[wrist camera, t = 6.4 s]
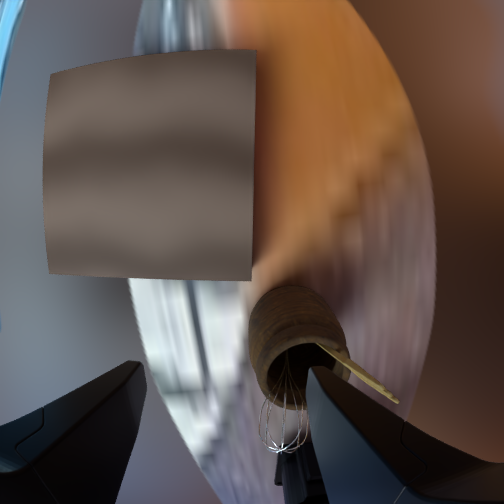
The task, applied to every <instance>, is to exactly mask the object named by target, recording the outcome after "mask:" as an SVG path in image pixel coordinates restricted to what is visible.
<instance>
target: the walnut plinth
mask: <svg viewBox="0 0 504 504" xmlns="http://www.w3.org/2000/svg"><path fill="white" fill-rule="evenodd" d="M255 96H256V50H198V51H182V52H170V53H159V54H150V55H142V56H135V57H128V58H122V59H116V60H110V61H105V62H100V63H94V64H90V65H86V66H81V67H76V68H72V69H68V70H64V71H60V72H57V73H53V74H51V76H50V84H49V91H48V97H47V107H46V116H45V129H44V146H43V209H44V227H45V239H46V250H47V259H48V267H49V274H59V275H77V276H78V275H79V276H97V277H120V278H144V279H173V280H212V281H251V278H252V233H253V187H254V141H255Z"/></svg>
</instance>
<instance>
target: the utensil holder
mask: <svg viewBox="0 0 504 504" xmlns="http://www.w3.org/2000/svg"><path fill="white" fill-rule="evenodd" d="M248 333H249V354H250V360H251V364H252V367H253V369H254V371H255V373H256V377H257V381H258V384H259V386H260V388H261V391H262V392H263V394H264V395H265V397H266V399H268V405H269V401H271V402H272V405H273V404H275V405H277V406H279V407H282V408H285V416H286V409H289V410H297V414H298V410H302V422H303V410H306V411H307V410H308V408H307V401H306V386H307V379H308V373H309V369H310V367H315V366H324V367H326V368H328V369H329V370H330V371H332V372H333V373H335V374H336V375H338V376H339V377H341V378H342V379H343V380H345V381H346V382H348V380H349V377H350V373H351V371H352V372H353V373H355V374H356V375H357V376H358V377H359V378H360V379H362V380H363V381H364V382H365V383H367V384H368V385H370V386H371V387H373V388H374V389H376V390H377V391H379V392H380V393H382V394H383V395H385V396H386V397H387V398H389V399H390V400H392V401H393V402H395V403H396V404H398V403H399V402H400V401H399V400H398V399H397V398H396V397H394V396H393V394H392V393H391V392H390V391H388V390H387V389H386V388H385V386H384V385H382V384H381V383H380V382H379V381H377V380H376V379H375V378H374V377H372V376H371V375H370V374H368V373H367V372H366V371H365V370H363V369H362V368H361V367H360V366H358V365H357V364H356V363H355V362H353V361H352V360H350V355H349V351H348V348H347V346H346V339H345V335H344V332H343V329H342V327H341V325H340V323H339V321H338V320H337V318H336V317H335V315H334V313H333V312H332V310H331V309H330V307H329V306H328V304H327V303H326V302H325V301H324V299H323V298H322V297H321V296H319V295H318V294H317V293H315V292H314V291H312V290H310V289H308V288H305V287H301V286H284V287H280V288H277V289H274V290H272V291H270V292H269V293H267V294H266V295H265V296H263V297H262V298H261V299H260V300H259V301H258V303H257V304H256V305H255V307H254V309H253V311H252V313H251V316H250V320H249V331H248ZM265 401H266V400H265ZM265 401H264V403H265ZM264 403H263V405H264ZM268 405H267V417H268V418H269V415H268ZM262 408H263V406H262ZM262 408H261V412H262ZM271 408H272V406H271ZM271 408H270V411H271ZM270 411H269V414H270ZM261 412H260V419H261ZM285 416H284V409H283V422H284V430H283V424H282V438H283V442H284V431H285ZM267 417H266V435H267V431H268V426H267V424H268V419H267ZM298 422H299V414H298ZM302 422H301V428H302ZM301 428H300V424H299V429H300V431H301ZM300 431H299V433H300ZM299 433H298V435H297V437H298V444H299ZM307 433H308V411H307ZM307 433H306V437H307ZM268 434H269V431H268ZM259 436H260V420H259ZM269 436H270V434H269ZM297 437H296V438H295V440H296V439H297ZM306 437H305V439H306ZM260 438H261V436H260ZM270 438H271V436H270ZM305 439H304V441H305ZM261 440H262V438H261ZM271 440H272V438H271ZM295 440H294V441H295ZM294 441H293V442H294ZM304 441H303V442H304ZM262 442H263V443H264V441H263V440H262ZM272 442H273V443H274V441H273V440H272ZM283 442H282V440H281V448H279V447H278V446H277V445H276V444H275V443H274V444H275V445H276V446H277V447H278V448H279V449H275V448H272V447H270V446H268V445H267V444H266V436H265V443H264V444H265V445H266V447H267V446H268V447H270V448H272V449H275V450H279V451H281V454H282V451H284V449H286V448H288V447H289V446H290V445H291V444H292V443H293V442H292V443H291V444H290V445H289V446H287V447H286V448H284V449H283ZM303 442H302V443H303ZM302 443H301V444H302ZM298 444H297V447H299V446H300V445H301V444H300V445H299V446H298ZM268 447H267V449H268ZM297 447H295V448H296V449H297ZM295 448H292V449H295ZM292 449H286V450H292ZM296 449H295V450H296ZM268 450H269V449H268ZM295 450H294V451H295ZM269 451H271V450H269ZM279 451H271V452H279ZM294 451H292V452H294ZM284 452H287V451H284ZM292 452H287V453H292Z"/></svg>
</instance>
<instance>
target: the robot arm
mask: <svg viewBox="0 0 504 504" xmlns="http://www.w3.org/2000/svg"><path fill="white" fill-rule="evenodd" d="M146 392H147V383H146V378H145V372H144V366H143V363H142V362H140V361H132V360H128V361H126V362H124V363H123V364H121V365H119V366H117V367H115V368H114V369H112V370H110V371H108V372H106V373H105V374H103V375H101V376H99V377H97V378H95V379H94V380H92V381H90V382H88V383H86V384H84V385H83V386H81V387H79V388H77V389H75V390H74V391H71V392H69V393H68V394H66V395H64V396H62V397H60V398H58V399H56V400H54V401H52V402H51V403H49V404H47V405H45V406H44V408H43V407H41V408H39V409H37V410H35V411H33V412H31V413H29V414H27V415H25V416H23V417H21V418H19V419H16V420H14V421H11V422H9V423H6V424H4V425H1V426H0V504H115V502H116V499H117V496H118V492H119V490H120V486H121V483H122V480H123V477H124V474H125V471H126V468H127V465H128V462H129V458H130V456H131V452H132V450H133V447H134V443H135V441H136V438H137V434H138V430H139V426H140V421H141V416H142V411H143V406H144V401H145V397H146ZM306 401H307V408H308V415H309V423H310V430H311V437H312V442H313V443H302V444H301V445H300V444H298V446H299V445H300V446H299V447H297V444H291V445H290V444H284V445H283V449H284V448H286V447H287V446H289V445H290V446H289V447H288V448H286V449H292V448H295V447H297V449H296V448H295V449H296V450H295V449H292V450H286V449H284V451H287V452H292V451H294V450H295V451H294V452H292V453H287V452H284V451H282V454H281V451H279V450H278V451H279V452H278V456H277V464H276V472H275V479H274V482H275V485H277V486H283V492H284V500H285V504H504V463H494V462H488V461H484V460H481V459H479V458H477V457H475V456H472V455H470V454H467V453H465V452H463V451H461V450H459V449H457V448H455V447H452V446H450V445H448V444H446V443H444V442H442V441H440V440H438V439H436V438H434V437H432V436H430V435H429V434H426V433H425V432H423V431H422V430H420V429H418V428H417V427H415V426H413V425H412V424H410V423H409V422H407V421H405V422H404V419H402V418H401V417H399V416H398V415H396V414H394V413H393V412H391V411H390V410H388V409H387V408H385V407H384V406H382V405H381V404H379V403H378V402H376V401H375V400H373V399H372V398H370V397H369V396H367V395H366V394H364V393H363V392H361V391H360V390H358V389H357V388H355V387H354V386H352V385H351V384H349V383H348V382H346V381H345V380H343V379H342V378H341V377H339V376H338V375H336V374H335V373H333V372H332V371H330V370H329V369H328V368H326V367H324V366H315V367H310V369H309V373H308V379H307V386H306ZM279 448H281V446H279ZM279 448H278V449H279Z"/></svg>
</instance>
